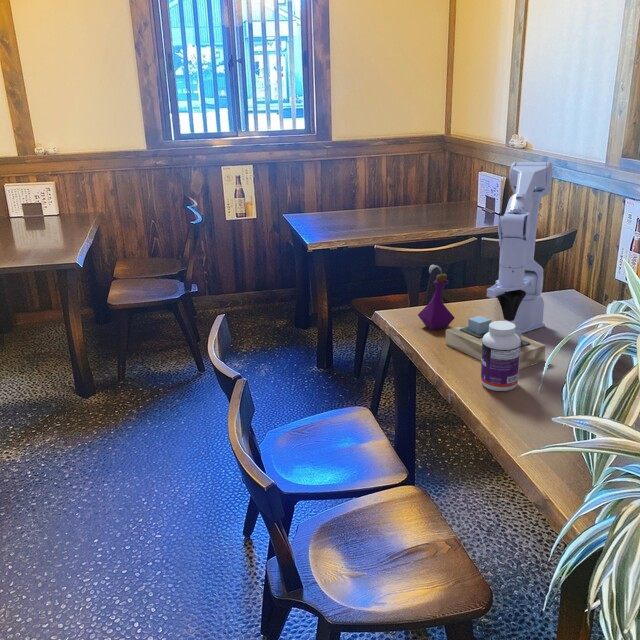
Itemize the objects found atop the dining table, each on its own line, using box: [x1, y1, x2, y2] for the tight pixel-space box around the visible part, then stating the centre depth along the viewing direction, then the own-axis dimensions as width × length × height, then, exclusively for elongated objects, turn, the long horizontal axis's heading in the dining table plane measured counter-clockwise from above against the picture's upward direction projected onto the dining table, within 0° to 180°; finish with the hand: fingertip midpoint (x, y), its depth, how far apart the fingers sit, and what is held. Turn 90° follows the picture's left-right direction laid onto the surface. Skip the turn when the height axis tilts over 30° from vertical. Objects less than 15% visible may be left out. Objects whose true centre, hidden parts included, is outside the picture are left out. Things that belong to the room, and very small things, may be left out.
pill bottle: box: [480, 320, 521, 392], centre depth 136 cm, size 8×8×14 cm
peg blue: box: [467, 315, 492, 335], centre depth 158 cm, size 4×4×4 cm
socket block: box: [445, 323, 547, 370], centre depth 155 cm, size 12×22×4 cm, turn 30°
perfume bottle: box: [417, 264, 455, 331], centre depth 171 cm, size 8×8×18 cm
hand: (509, 319), depth 150 cm, fingers closed
